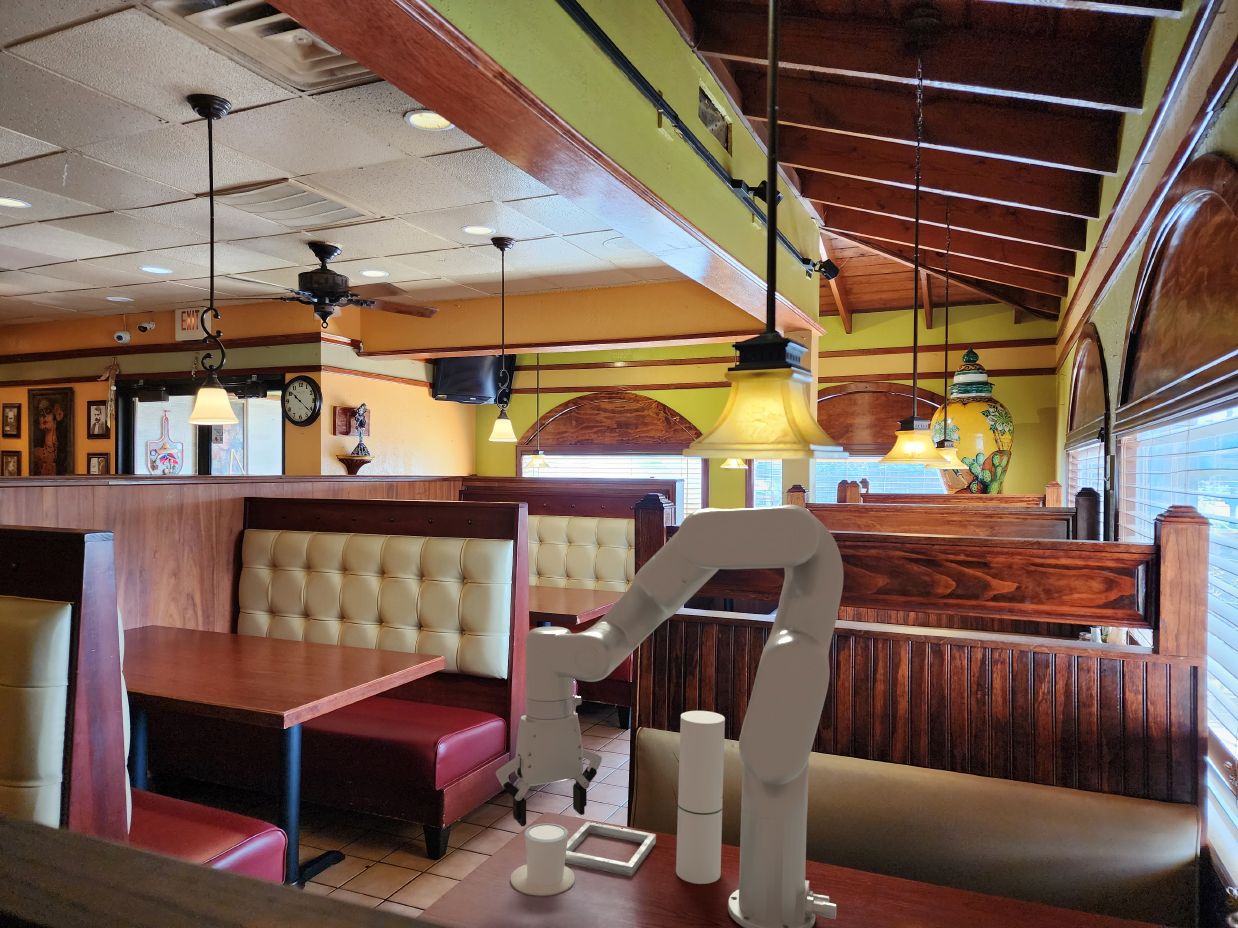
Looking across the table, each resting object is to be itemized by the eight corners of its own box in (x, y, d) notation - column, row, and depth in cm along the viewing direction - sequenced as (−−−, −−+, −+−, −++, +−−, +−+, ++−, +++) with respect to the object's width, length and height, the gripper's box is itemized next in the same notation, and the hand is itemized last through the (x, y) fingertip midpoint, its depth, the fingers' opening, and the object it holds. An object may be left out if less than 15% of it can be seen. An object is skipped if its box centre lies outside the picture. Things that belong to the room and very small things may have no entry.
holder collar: (655, 842, 140) (655, 834, 140) (631, 876, 128) (631, 866, 128) (586, 829, 144) (586, 821, 144) (556, 860, 132) (557, 851, 132)
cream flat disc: (584, 871, 129) (584, 868, 129) (558, 901, 119) (558, 898, 119) (528, 859, 132) (528, 857, 132) (499, 887, 123) (499, 885, 123)
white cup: (565, 888, 122) (566, 842, 123) (520, 886, 123) (521, 840, 123) (568, 867, 129) (570, 823, 130) (526, 865, 129) (527, 821, 130)
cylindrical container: (721, 864, 133) (725, 712, 133) (719, 885, 126) (723, 725, 126) (678, 859, 134) (682, 709, 134) (673, 880, 127) (678, 721, 127)
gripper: (591, 695, 134) (591, 799, 133) (489, 708, 126) (489, 818, 126) (609, 706, 127) (610, 816, 126) (503, 720, 119) (504, 836, 119)
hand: (550, 817), depth 126 cm, fingers open, 9 cm apart
